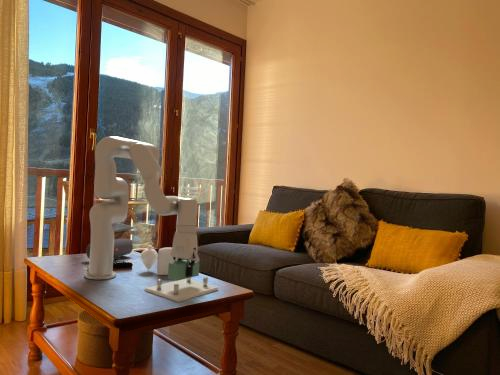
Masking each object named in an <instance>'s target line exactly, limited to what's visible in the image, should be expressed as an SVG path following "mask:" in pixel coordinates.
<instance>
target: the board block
mask: <svg viewBox="0 0 500 375" xmlns="http://www.w3.org/2000/svg"><path fill="white" fill-rule="evenodd" d="M190 262H191V260H190ZM186 267H188V266H187V260H185V259H182V260H181V261H176V262H170V263H169V267H168V275H167V279H170V280H174V281H178V280H182V279H187V278H191V279H192V278H194V277H199V275H200V260H199V261H198V262H196V264H195V265H194V266H193V274H192V276H190V277H186Z"/></svg>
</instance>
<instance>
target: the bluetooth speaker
mask: <svg viewBox="0 0 500 375" xmlns="http://www.w3.org/2000/svg"><path fill="white" fill-rule="evenodd" d="M133 249H134V246H133V242H132V241H131V239H129V238H116V239H115V238H114V254H113V260H117V258H118V259H119V258H120V257H123V256H126V255H129V254H131V253H132V251H133ZM85 253H86V254H85V255H86V257H87V259H88V260H90V243H89V244H88V245H87V246H86V249H85Z"/></svg>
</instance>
